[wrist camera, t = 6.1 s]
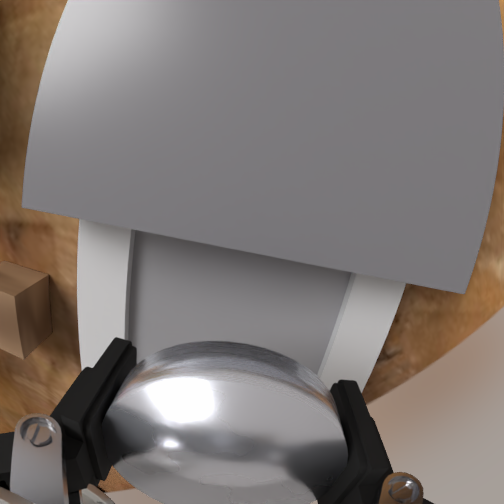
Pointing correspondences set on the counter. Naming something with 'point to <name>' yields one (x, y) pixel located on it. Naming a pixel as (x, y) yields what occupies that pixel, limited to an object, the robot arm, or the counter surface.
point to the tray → (227, 302)
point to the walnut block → (23, 309)
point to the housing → (279, 128)
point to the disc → (225, 427)
